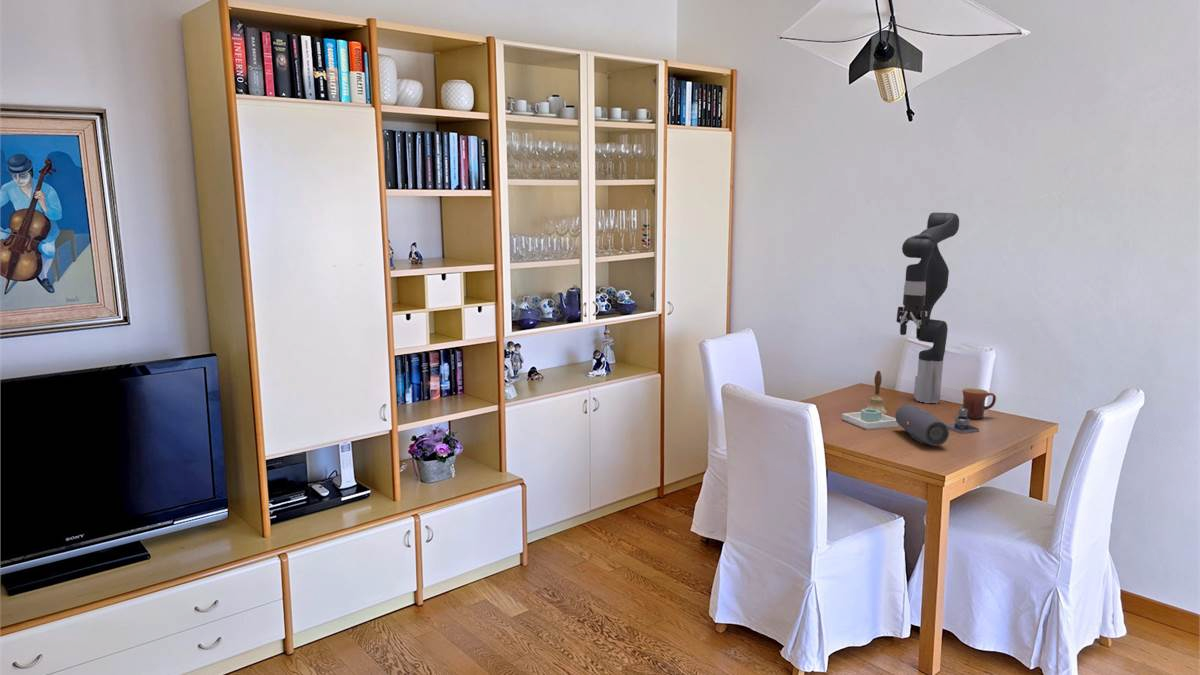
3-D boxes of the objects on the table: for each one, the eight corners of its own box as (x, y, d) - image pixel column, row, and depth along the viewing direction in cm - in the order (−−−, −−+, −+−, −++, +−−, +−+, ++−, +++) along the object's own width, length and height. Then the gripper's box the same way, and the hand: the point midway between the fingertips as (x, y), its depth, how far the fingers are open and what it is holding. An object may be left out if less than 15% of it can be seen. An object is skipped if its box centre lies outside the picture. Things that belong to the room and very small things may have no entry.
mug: (964, 420, 307) (966, 393, 306) (956, 413, 316) (958, 387, 314) (998, 421, 306) (1000, 394, 304) (989, 415, 315) (991, 388, 313)
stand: (944, 427, 297) (946, 407, 296) (961, 425, 300) (963, 405, 298) (961, 433, 290) (963, 412, 288) (978, 431, 292) (980, 410, 291)
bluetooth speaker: (892, 430, 293) (894, 402, 291) (917, 430, 293) (920, 402, 292) (921, 449, 270) (924, 420, 269) (949, 449, 271) (951, 419, 269)
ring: (857, 420, 303) (857, 409, 302) (873, 418, 306) (874, 407, 305) (868, 424, 297) (869, 413, 296) (885, 422, 300) (886, 412, 299)
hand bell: (890, 414, 314) (893, 373, 311) (868, 414, 314) (871, 373, 311) (883, 409, 322) (886, 368, 319) (861, 408, 322) (864, 368, 319)
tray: (842, 419, 305) (842, 413, 305) (873, 416, 310) (873, 410, 310) (866, 430, 292) (867, 423, 292) (898, 426, 297) (899, 420, 297)
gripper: (893, 291, 310) (889, 334, 313) (920, 295, 297) (916, 340, 300) (909, 290, 313) (906, 333, 316) (936, 295, 300) (933, 339, 303)
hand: (911, 336), depth 308 cm, fingers open, 8 cm apart
